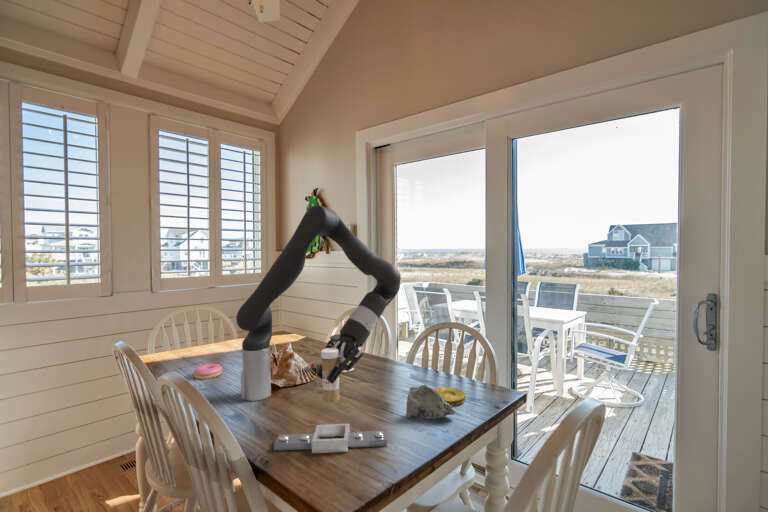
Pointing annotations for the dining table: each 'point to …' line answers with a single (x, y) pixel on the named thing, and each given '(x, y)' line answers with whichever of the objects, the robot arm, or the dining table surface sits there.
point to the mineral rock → (426, 404)
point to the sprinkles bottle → (328, 364)
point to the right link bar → (367, 439)
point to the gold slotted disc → (451, 395)
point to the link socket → (330, 444)
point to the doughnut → (208, 371)
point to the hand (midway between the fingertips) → (324, 379)
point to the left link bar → (293, 442)
